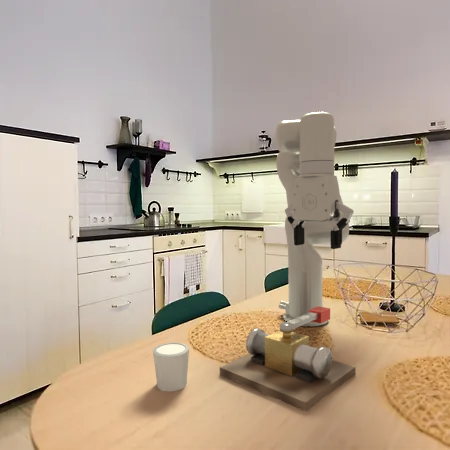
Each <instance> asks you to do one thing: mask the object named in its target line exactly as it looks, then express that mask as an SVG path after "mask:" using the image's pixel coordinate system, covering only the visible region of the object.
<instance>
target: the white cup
mask: <svg viewBox="0 0 450 450" xmlns="http://www.w3.org/2000/svg"><path fill="white" fill-rule="evenodd" d="M152 353H153V362H154V363H153V364H154V372H155V377H156V378H155V379H156V386H157V389H159V391H162V392H169V393H170V392H177V391H180V390H183V389H184V388H185V387H186V386H187V384H188V371H189V356H190V347H189V345H187V344H185V343H182V342H167V343H166V342H165V343H162V344H159V345H157V346H155V347H154V348H153V349H152Z"/></svg>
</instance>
